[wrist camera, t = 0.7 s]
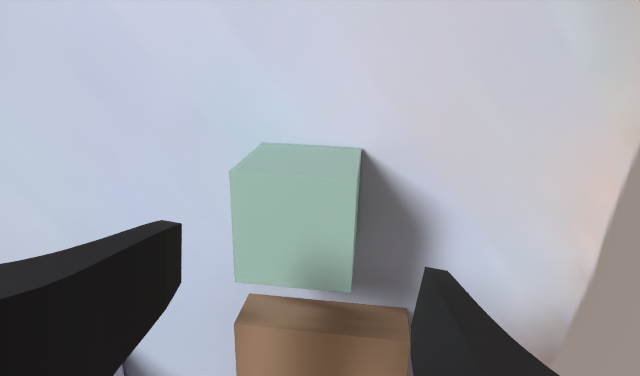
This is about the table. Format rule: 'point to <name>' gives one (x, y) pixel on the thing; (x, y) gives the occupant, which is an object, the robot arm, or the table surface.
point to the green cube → (296, 216)
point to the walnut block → (320, 338)
